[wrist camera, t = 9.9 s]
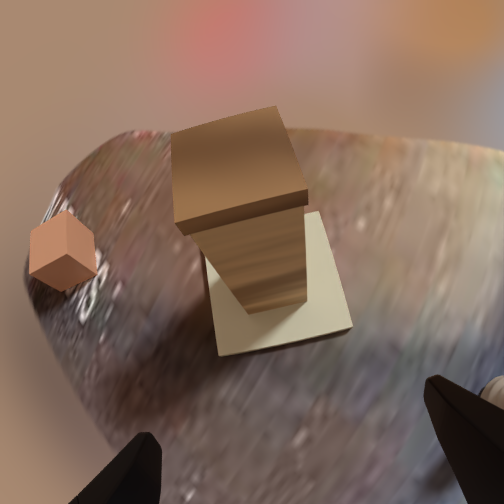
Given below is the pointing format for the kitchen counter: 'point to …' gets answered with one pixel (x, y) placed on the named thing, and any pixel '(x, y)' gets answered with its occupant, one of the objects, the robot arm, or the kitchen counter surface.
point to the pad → (288, 317)
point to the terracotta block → (62, 252)
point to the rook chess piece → (495, 392)
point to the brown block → (244, 205)
